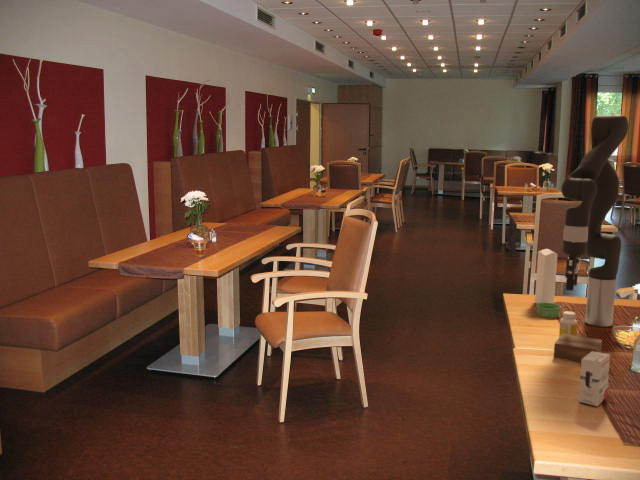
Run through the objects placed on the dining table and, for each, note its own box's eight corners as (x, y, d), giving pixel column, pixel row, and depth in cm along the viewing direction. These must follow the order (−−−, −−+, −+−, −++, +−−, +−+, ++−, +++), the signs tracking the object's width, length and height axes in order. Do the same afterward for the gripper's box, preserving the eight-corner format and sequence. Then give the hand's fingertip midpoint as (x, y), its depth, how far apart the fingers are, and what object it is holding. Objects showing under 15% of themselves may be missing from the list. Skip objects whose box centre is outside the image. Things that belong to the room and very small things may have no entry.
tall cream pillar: (531, 308, 256) (535, 249, 252) (534, 304, 262) (538, 246, 258) (551, 310, 252) (555, 251, 248) (553, 306, 258) (558, 248, 254)
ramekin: (532, 317, 243) (533, 306, 242) (538, 312, 251) (539, 301, 250) (557, 321, 238) (558, 309, 238) (562, 315, 246) (563, 304, 245)
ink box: (588, 391, 172) (591, 349, 170) (607, 396, 169) (611, 354, 167) (577, 401, 166) (581, 358, 164) (597, 407, 162) (601, 362, 161)
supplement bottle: (575, 339, 217) (577, 311, 215) (576, 344, 212) (578, 315, 210) (558, 337, 218) (560, 310, 217) (558, 342, 213) (561, 314, 212)
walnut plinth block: (561, 348, 209) (562, 333, 208) (601, 355, 202) (602, 339, 202) (553, 358, 199) (554, 343, 198) (595, 366, 192) (596, 350, 192)
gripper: (566, 235, 217) (562, 282, 220) (559, 241, 205) (555, 290, 208) (590, 237, 214) (586, 284, 216) (584, 243, 201) (580, 293, 204)
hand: (571, 287), depth 212 cm, fingers open, 8 cm apart
